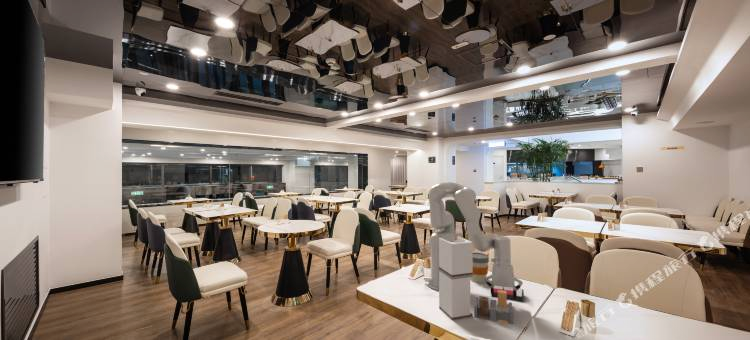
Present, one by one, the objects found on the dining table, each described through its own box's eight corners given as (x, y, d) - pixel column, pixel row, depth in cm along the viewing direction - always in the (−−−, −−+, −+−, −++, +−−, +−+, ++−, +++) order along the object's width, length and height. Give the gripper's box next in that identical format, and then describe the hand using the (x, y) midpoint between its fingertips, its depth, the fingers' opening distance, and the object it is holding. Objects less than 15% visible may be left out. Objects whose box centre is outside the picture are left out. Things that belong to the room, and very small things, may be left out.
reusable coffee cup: (463, 276, 185) (463, 252, 185) (482, 275, 186) (482, 252, 186) (472, 284, 172) (472, 259, 172) (492, 283, 174) (492, 258, 174)
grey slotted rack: (474, 319, 134) (474, 306, 133) (475, 309, 143) (475, 297, 143) (513, 326, 128) (513, 312, 127) (511, 315, 137) (511, 302, 137)
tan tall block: (497, 307, 145) (497, 293, 144) (497, 303, 148) (497, 290, 148) (506, 308, 143) (506, 294, 143) (506, 305, 147) (506, 291, 147)
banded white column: (472, 318, 134) (472, 242, 134) (451, 322, 131) (451, 244, 131) (458, 307, 145) (458, 236, 145) (439, 310, 142) (439, 238, 142)
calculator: (493, 284, 165) (523, 287, 158) (493, 291, 165) (523, 295, 158) (490, 291, 155) (522, 295, 148) (491, 299, 155) (523, 304, 148)
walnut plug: (479, 314, 136) (479, 299, 135) (479, 310, 139) (479, 296, 139) (488, 316, 134) (488, 301, 134) (488, 312, 138) (488, 297, 138)
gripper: (483, 262, 145) (484, 297, 145) (522, 266, 138) (523, 302, 138) (484, 258, 152) (485, 291, 152) (521, 261, 145) (522, 296, 145)
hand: (503, 296), depth 145 cm, fingers open, 9 cm apart
